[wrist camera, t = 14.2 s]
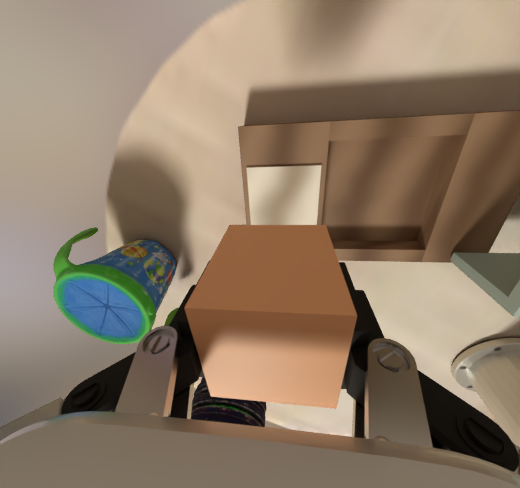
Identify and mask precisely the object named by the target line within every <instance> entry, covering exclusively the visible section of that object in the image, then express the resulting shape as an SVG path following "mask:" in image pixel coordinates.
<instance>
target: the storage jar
mask: <svg viewBox="0 0 520 488" xmlns="http://www.w3.org/2000/svg"><path fill="white" fill-rule="evenodd" d="M265 411H266V402H263V401H252V400H242V399H232V398H221V397H211V396H210V392H209V389H208V385H207V382H206V379H205V377H202V380H201V383H200V384H199V385H198V386H197V389H196V391H195V393H194V398H193V400H192V411H191V419H193V420H203V421H212V422H222V423H231V424H240V425H249V426H258V427H265Z"/></svg>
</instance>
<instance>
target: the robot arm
mask: <svg viewBox="0 0 520 488" xmlns="http://www.w3.org/2000/svg"><path fill="white" fill-rule="evenodd" d="M209 262H210V261H209ZM209 262H208V264H209ZM208 264H207V265H208ZM339 264H340V267H341V270H342V273H343V276H344V279H345V282H346V285H347V287H348V290H349V293H350V296H351V299H352V302H353V305H354V308H355V311H356V313H357V320H356V324H355V328H354V333H353V337H352V342H351V346H350V350H349V355H348V359H347V364H346V368H345V372H344V377H343V381H342V386H341V389H347V393H348V394H349V395H350V396H351V397H352V398H354V404H353V427H352V437H347V436H339V435H330V434H321V433H312V432H304V431H295V430H286V429H277V428H268V427H258V426H249V425H240V424H231V423H222V422H212V421H203V420H193V419H191V411H192V399H193V387H194V382H196V381H197V380H198V379H199V377H205V375H204V372H203V369H202V365H201V362H200V359H199V355H198V352H197V349H196V345H195V342H194V339H193V335H192V332H191V329H190V325H189V322H188V318H187V315H186V312H185V308H184V307H185V306H186V304H187V302H188V300H189V298H190V297H191V295H192V293H193V291H194V289H195V287H196V286H197V284H198V282H199V281H198V282H197V284H196V285H193V286H192V287H191V288H190V290H189V291H188V293H187V295H186V297H185V298H184V300H183V302H182V304H181V305H180V307H179V309H178V311H177V312H176V314H175V316H174V318H173V319H172V321H171V323H170V325H169V326H161V327H157V328H155V329H153V330H151V331H149V332H148V333H147V334H145V335H144V337H143V338H142V339H141V340H140V342H139V344H138V347H137V351H136V352H135V353H133V354H131V355H130V356H128V357H126V358H124V359H122V360H120V361H119V362H117V363H115V364H113V365H111V366H110V367H108V368H106V369H104V370H102V371H101V372H99V373H97V374H95V375H93V376H92V377H90V378H88V379H87V380H85V381H83V382H82V383H80V384H79V385H77V386H76V387H75V388H74V389H73V390H72V391H71V392H70V393H69V395H68V396H67V397H66V398H65V399H64V400H63V399H62V398H61V397H60V398H58V399H56V400H54V401H52V402H50V403H48V404H46V405H44V406H42V407H40V408H38V409H36V410H34V411H31V412H29V413H28V414H25V415H23V416H21V417H19V418H17V419H15V420H13V421H11V422H9V423H7V424H5V425H3V426H1V427H0V488H520V338H502V339H495V340H491V341H487V342H483V343H481V344H478V345H475V346H473V347H471V348H469V349H467V350H466V351H464V352H463V353H461V354H460V355H459V356H458V357H457V358H456V359H455V361H454V362H453V365H452V368H451V369H452V374H453V376H454V378H455V379H456V381H457V382H458V383H459V384H460V385H461V386H462V387H464V388H466V389H469V390H472V391H475V392H477V393H478V395H479V396H480V398H481V399H482V401H483V402H484V404H485V405H486V407H487V408H488V410H489V411H490V412H491V414H492V415H493V417H494V418H495V420H496V421H497V423H498V424H499V425H497V424H496V423H495V422H494V421H492V420H491V419H490V418H489V417H487V416H486V415H484V414H483V413H481V412H480V411H478V410H477V409H475V408H474V407H472V406H471V405H469V404H468V403H466V402H465V401H463V400H462V399H460V398H459V397H457V396H456V395H454V394H453V393H451V392H450V391H448V390H447V389H445V388H444V387H442V386H441V385H439V384H438V383H436V382H435V381H433V380H432V379H430V378H429V377H427V376H426V375H424V374H423V373H421V372H420V371H418V370H417V365H416V362H415V359H414V357H413V356H412V354H411V353H410V351H409V350H407V349H406V348H405V347H404V346H403V345H401V344H399V343H398V342H396V341H393V340H391V339H386V338H384V336H383V334H382V331H381V329H380V327H379V324H378V322H377V320H376V317H375V315H374V313H373V310H372V308H371V306H370V304H369V301H368V299H367V297H366V294H365V293H364V291H363V290H355V288H354V286H353V283H352V280H351V278H350V275H349V273H348V270H347V267H346V265H345V263H344V262H339ZM206 267H207V266H206ZM205 269H206V268H205ZM204 271H205V270H204ZM203 273H204V272H203ZM203 273H202V275H203ZM202 275H201V276H202ZM200 278H201V277H200ZM199 280H200V279H199Z"/></svg>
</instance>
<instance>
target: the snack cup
mask: <svg viewBox="0 0 520 488" xmlns="http://www.w3.org/2000/svg"><path fill="white" fill-rule="evenodd" d="M97 231H98V228H96V227H95V228H90V229H88V230H85V231H83V232H81V233H79V234H77V235H75V236H74V237H73V238H71V239H70V240H69V241H68V242H67V243H66V244H64V245H63V246H62V247H61V249H60V250H59V252H58V253H57V255H56V257H55V260H54V272H55V275H56V279H57V280H56V283H55V286H54V292H53V293H54V298H55V301H56V303H57V305H58V307H59V309H60V310H61V312H62V313H63V314H64V315H65V317H66V318H67V319H68V320H69V321H70V322H71V323H73V324H74V325H75V326H76V327H78V328H79V329H80V330H82V331H84V332H86V333H87V334H89V335H91V336H93V337H95V338H98V339H101V340H103V341H106V342H111V343H117V344H129V343H134V342H140V340H141V339H142V338H143V337H144V335H145V334H147V333H148V332H149V331H151V328H152V326H153V324H154V321H155V318H156V312H157V310H158V308H159V306H160V304H161V302H162V300H163V298H164V296H165V294H166V292H167V290H168V287H169V286H170V284H171V282H172V279H173V277H174V275H175V271H176V268H175V266H176V262H175V259H174V258H172V256H171V254H170V252H169V251H167V250H166V249H165V248H164V247H162V246H161V245H160V244H159V243H158V242H156V241H149V240H135V241H132V242H130V243H128V244H126V245H124V246H122V247H120V248H118V249H116V250H114V251H112V252H110V253H108V254H107V255H105V256H102V257H100V258H98V259H96V260H93V261H90V262H86V263H84V264H80V265H74V264H72V263H71V262H70V261H69V260H68V257H69V253H70V251H71V247H72V244H74V243H76V242H78V241H80V240H82V239H86V238H88V237H90V236H92V235H93V234H95V233H96V232H97ZM178 309H179V308H176V309H174V310H173V311H172V312H171V313H170V314H169V315H168V317H167V319H166V322H165V325H164V326H169V325H170V323H171V321H172V319H173V318H174V316H175V314H176V312H177V311H178Z"/></svg>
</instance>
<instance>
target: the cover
mask: <svg viewBox="0 0 520 488" xmlns="http://www.w3.org/2000/svg"><path fill="white" fill-rule="evenodd" d="M450 261H451V262H452V263H453V264H454V265H456V266H457V267H458V268H459V269H460V270H461V271H462V272H464V273H465V274H466V275H467V276H468V277H469V278H470V279H471V280H473V281H474V282H475V283H476V284H477V285H478V286H479V287H480V288H482V289H483V290H484V291H485V292H486V293H487V294H488V295H489V296H491V297H492V298H493V299H494V300H495V301H496V302H497V303H499V304H500V305H501V306H502V307H503V308H504V309H505V310H506V311H508V312H509V313H510V314H511V315H512V316H518V317H520V253H457V252H454V253H453V255H452V257H451V260H450Z"/></svg>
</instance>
